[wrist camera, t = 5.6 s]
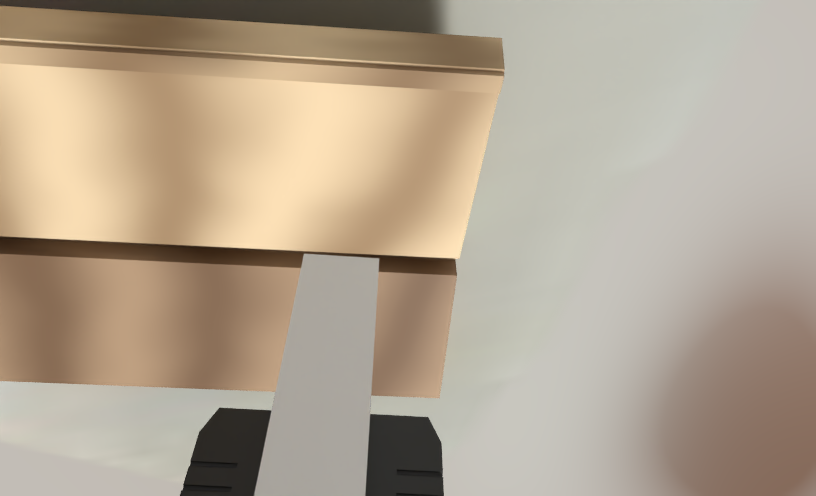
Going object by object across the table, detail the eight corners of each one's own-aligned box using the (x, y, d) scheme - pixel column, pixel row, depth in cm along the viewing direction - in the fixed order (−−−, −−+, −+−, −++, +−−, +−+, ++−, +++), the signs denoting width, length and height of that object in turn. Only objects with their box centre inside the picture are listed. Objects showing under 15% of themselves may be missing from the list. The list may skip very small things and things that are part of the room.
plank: (-94, 203, 25) (-110, 234, 24) (-286, -13, 17) (-319, 22, 17) (458, 231, 26) (459, 262, 25) (501, 38, 18) (505, 73, 17)
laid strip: (-25, 358, 30) (-39, 379, 29) (-88, 214, 25) (-108, 233, 24) (438, 376, 31) (439, 398, 30) (456, 241, 26) (458, 260, 25)
